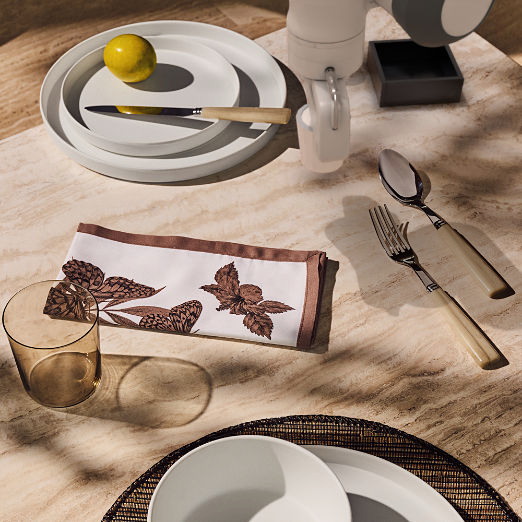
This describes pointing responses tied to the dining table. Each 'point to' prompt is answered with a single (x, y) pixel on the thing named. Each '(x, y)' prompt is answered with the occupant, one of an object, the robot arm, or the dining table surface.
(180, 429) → the dining table surface
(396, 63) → the black square tray
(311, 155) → the white cup
